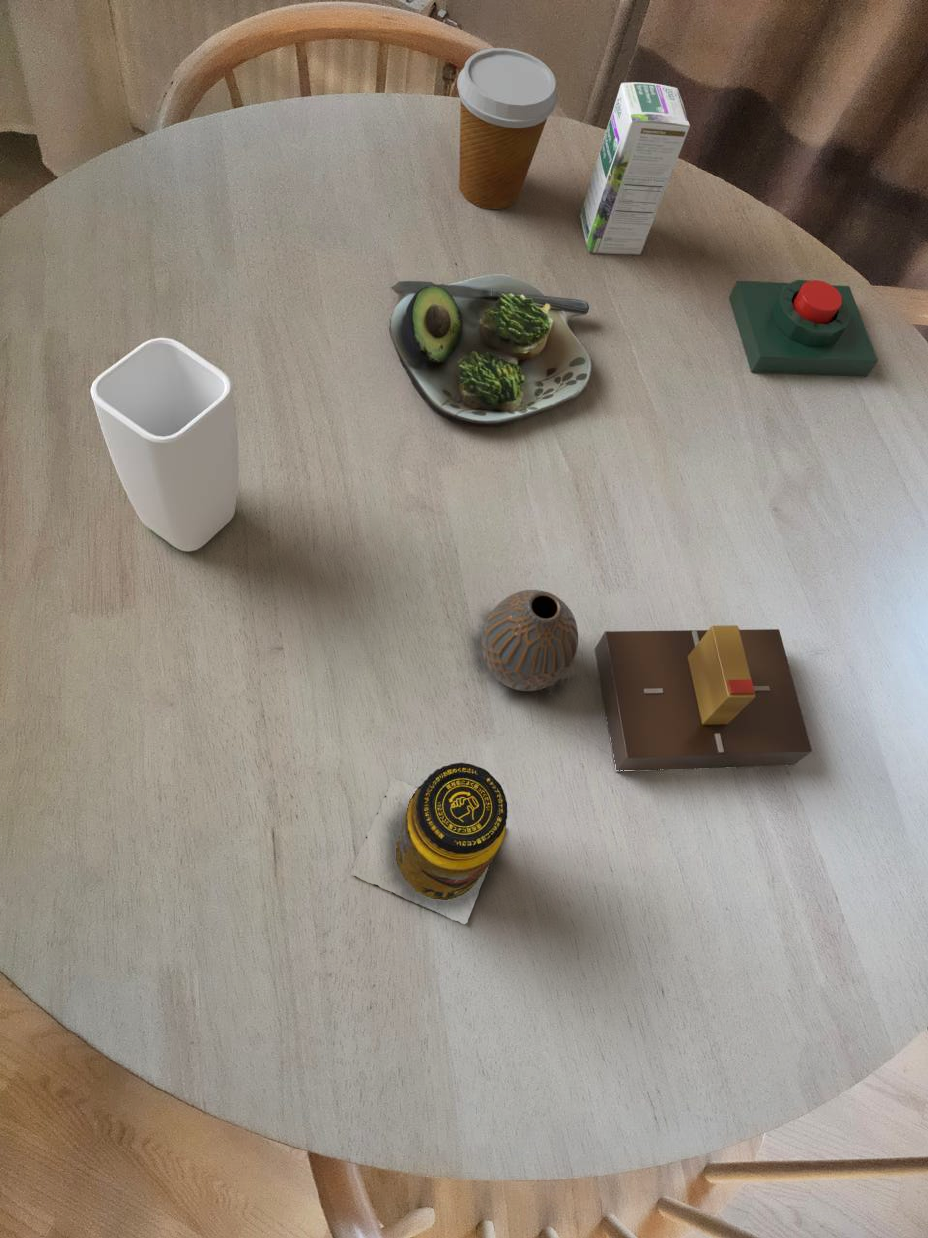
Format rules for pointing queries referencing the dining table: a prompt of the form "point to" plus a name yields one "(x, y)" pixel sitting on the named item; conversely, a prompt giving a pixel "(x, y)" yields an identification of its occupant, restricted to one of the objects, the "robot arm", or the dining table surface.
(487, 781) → the condiment
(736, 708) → the thumbturn
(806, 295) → the round red push button
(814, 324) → the green button box
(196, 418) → the cup
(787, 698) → the plate
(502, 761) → the dining table surface
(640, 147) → the syrup box
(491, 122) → the disposable coffee cup
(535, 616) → the vase
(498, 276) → the avocado toast plate
